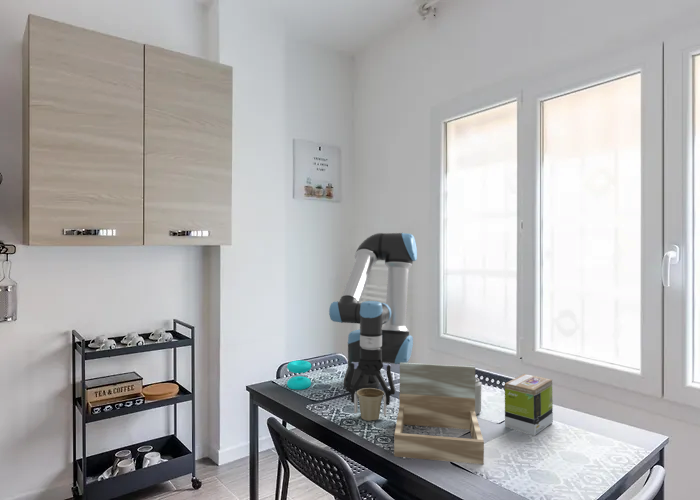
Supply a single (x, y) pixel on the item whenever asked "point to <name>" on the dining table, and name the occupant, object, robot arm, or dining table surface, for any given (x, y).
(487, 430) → the dining table surface
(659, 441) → the dining table surface
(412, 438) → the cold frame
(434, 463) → the dining table surface
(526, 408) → the tea box
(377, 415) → the flower pot
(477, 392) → the can
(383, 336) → the robot arm
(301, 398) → the dining table surface
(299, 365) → the donuts
